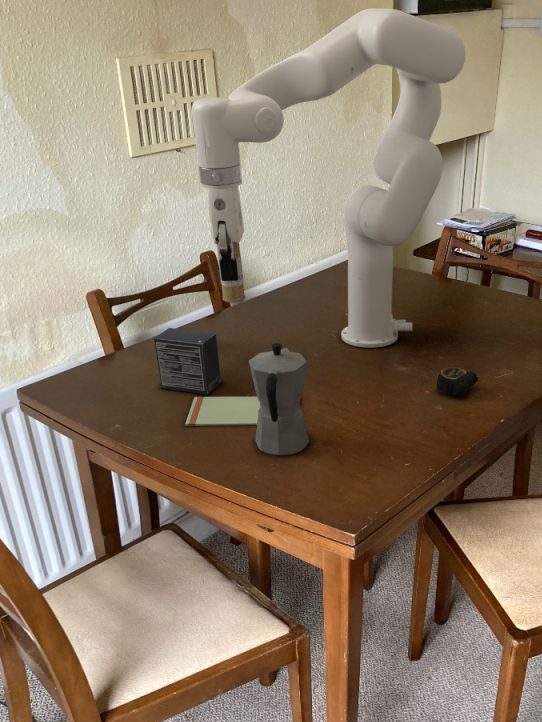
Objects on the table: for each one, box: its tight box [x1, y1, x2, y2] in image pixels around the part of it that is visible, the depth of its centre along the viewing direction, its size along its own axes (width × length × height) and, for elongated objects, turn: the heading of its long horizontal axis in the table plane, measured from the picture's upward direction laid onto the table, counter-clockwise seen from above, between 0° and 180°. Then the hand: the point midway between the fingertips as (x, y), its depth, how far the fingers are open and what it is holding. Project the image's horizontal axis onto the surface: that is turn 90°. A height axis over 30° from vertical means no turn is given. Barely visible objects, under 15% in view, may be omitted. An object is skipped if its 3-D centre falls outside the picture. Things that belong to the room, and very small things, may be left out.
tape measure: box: [436, 366, 479, 397], centre depth 147 cm, size 7×7×4 cm
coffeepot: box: [248, 342, 310, 456], centre depth 126 cm, size 15×9×18 cm, turn 176°
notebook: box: [184, 395, 260, 427], centre depth 142 cm, size 20×11×1 cm, turn 90°
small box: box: [153, 327, 222, 396], centre depth 149 cm, size 11×6×10 cm, turn 71°
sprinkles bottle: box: [216, 236, 246, 304], centre depth 148 cm, size 5×5×14 cm
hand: (231, 275), depth 149 cm, fingers closed on sprinkles bottle, 4 cm apart
